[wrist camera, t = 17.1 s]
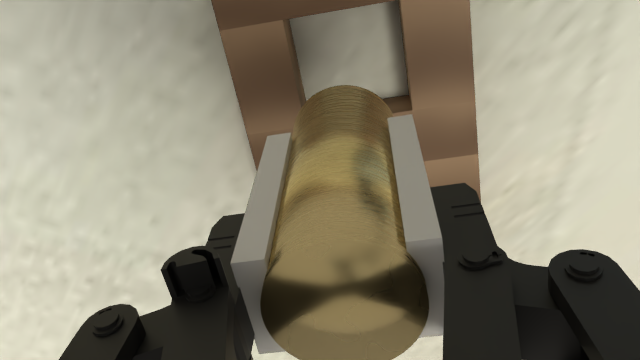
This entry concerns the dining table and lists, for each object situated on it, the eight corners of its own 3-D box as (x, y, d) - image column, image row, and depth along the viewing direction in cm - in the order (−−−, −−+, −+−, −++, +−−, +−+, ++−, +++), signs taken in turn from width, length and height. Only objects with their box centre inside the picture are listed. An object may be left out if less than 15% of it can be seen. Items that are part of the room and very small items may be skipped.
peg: (283, 94, 20) (242, 252, 12) (390, 77, 19) (420, 229, 11) (304, 185, 21) (280, 377, 13) (402, 171, 21) (436, 361, 13)
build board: (220, -11, 27) (210, -1, 25) (458, -54, 26) (466, -48, 24) (290, 261, 35) (286, 283, 33) (477, 239, 33) (484, 261, 31)
